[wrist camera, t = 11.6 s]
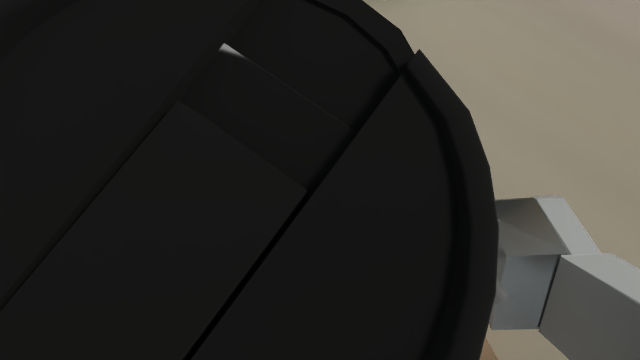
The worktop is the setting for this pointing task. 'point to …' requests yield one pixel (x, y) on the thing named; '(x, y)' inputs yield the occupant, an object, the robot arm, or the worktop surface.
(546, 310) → the robot arm
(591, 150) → the worktop surface
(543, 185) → the worktop surface
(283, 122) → the travel mug
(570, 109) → the worktop surface
